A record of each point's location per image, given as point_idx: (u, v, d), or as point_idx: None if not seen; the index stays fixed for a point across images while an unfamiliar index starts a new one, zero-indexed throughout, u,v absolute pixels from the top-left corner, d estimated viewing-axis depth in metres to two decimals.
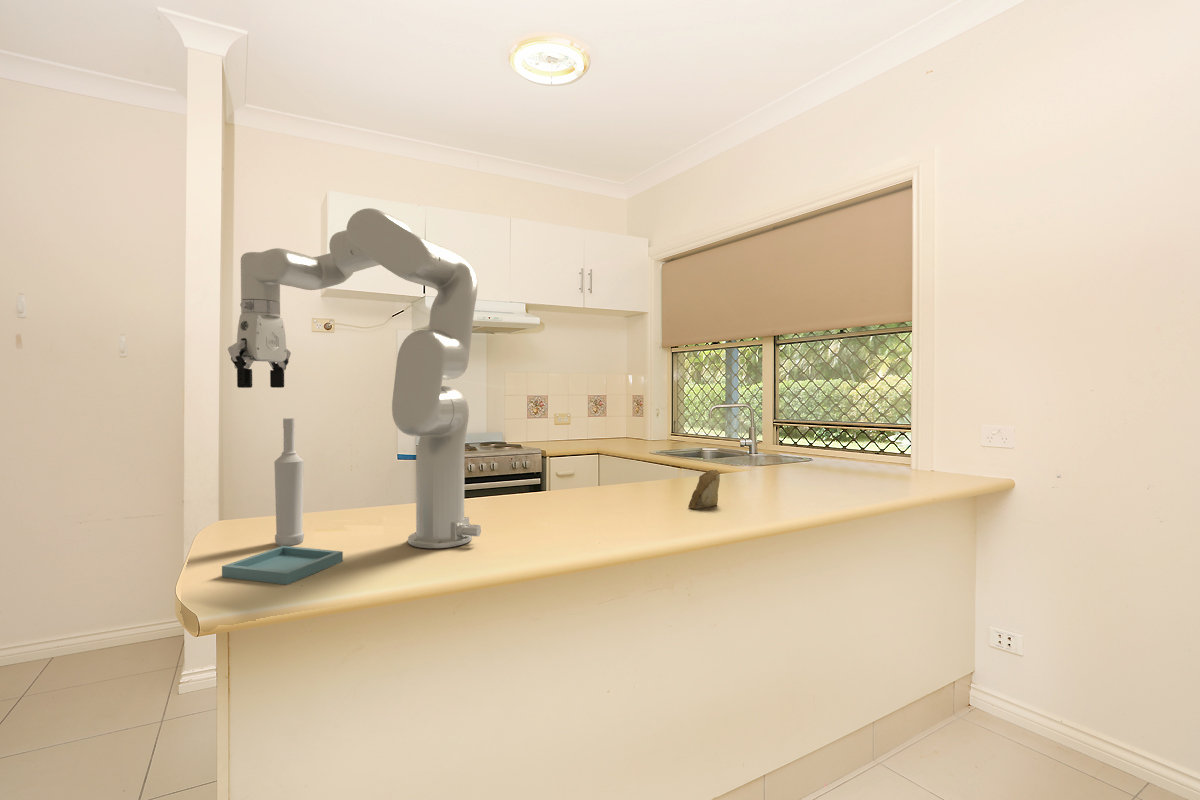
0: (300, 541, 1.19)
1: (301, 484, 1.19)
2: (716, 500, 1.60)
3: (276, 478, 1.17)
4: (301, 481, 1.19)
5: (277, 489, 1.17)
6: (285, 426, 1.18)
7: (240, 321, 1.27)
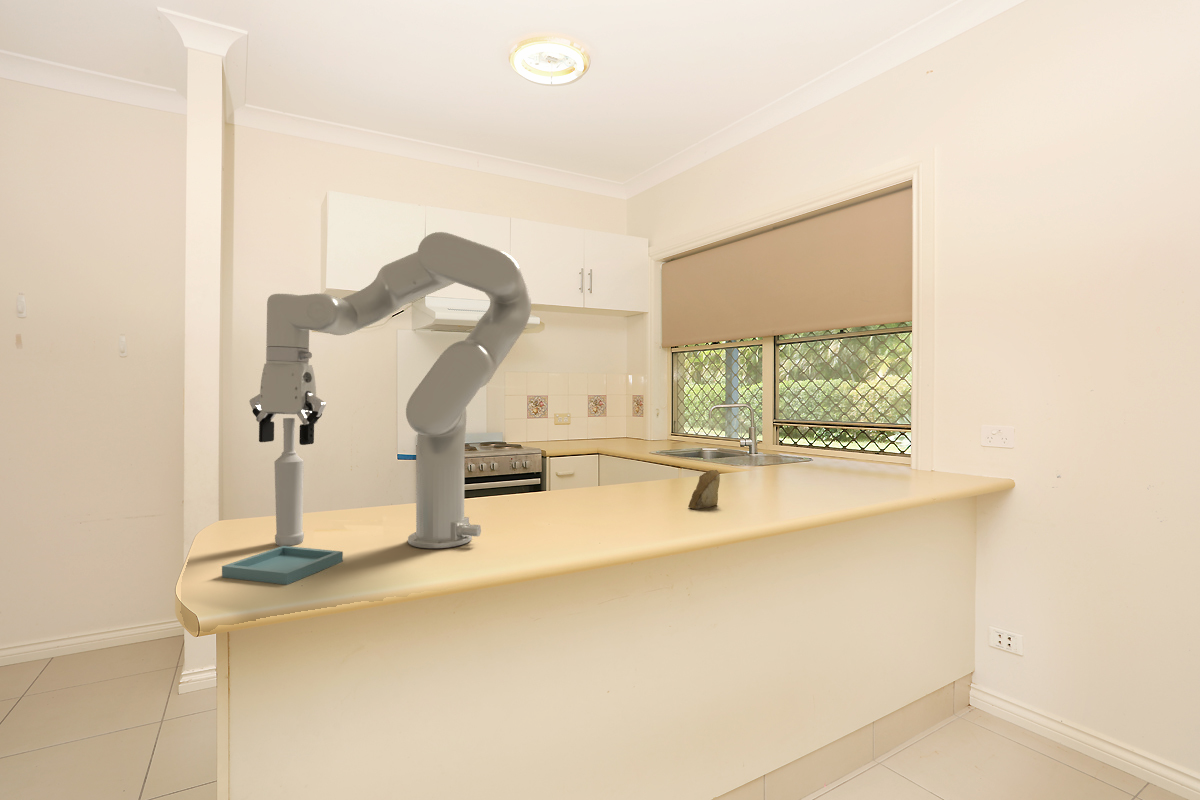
0: (300, 541, 1.19)
1: (301, 484, 1.19)
2: (716, 500, 1.60)
3: (276, 478, 1.17)
4: (301, 481, 1.19)
5: (277, 489, 1.17)
6: (285, 426, 1.18)
7: (301, 372, 1.16)
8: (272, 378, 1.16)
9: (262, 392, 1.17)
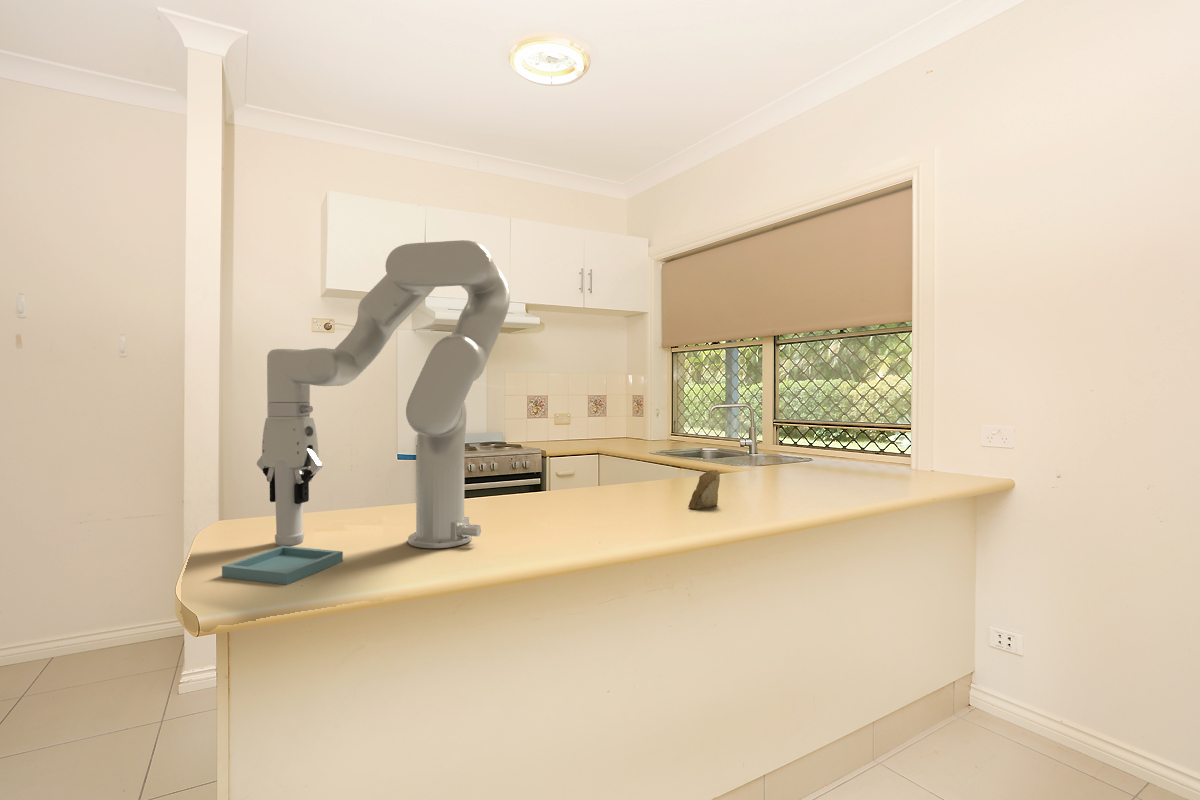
0: (300, 541, 1.19)
1: None
2: (716, 500, 1.60)
3: (276, 478, 1.17)
4: None
5: (277, 489, 1.17)
6: None
7: (303, 426, 1.16)
8: (273, 433, 1.17)
9: (264, 446, 1.18)
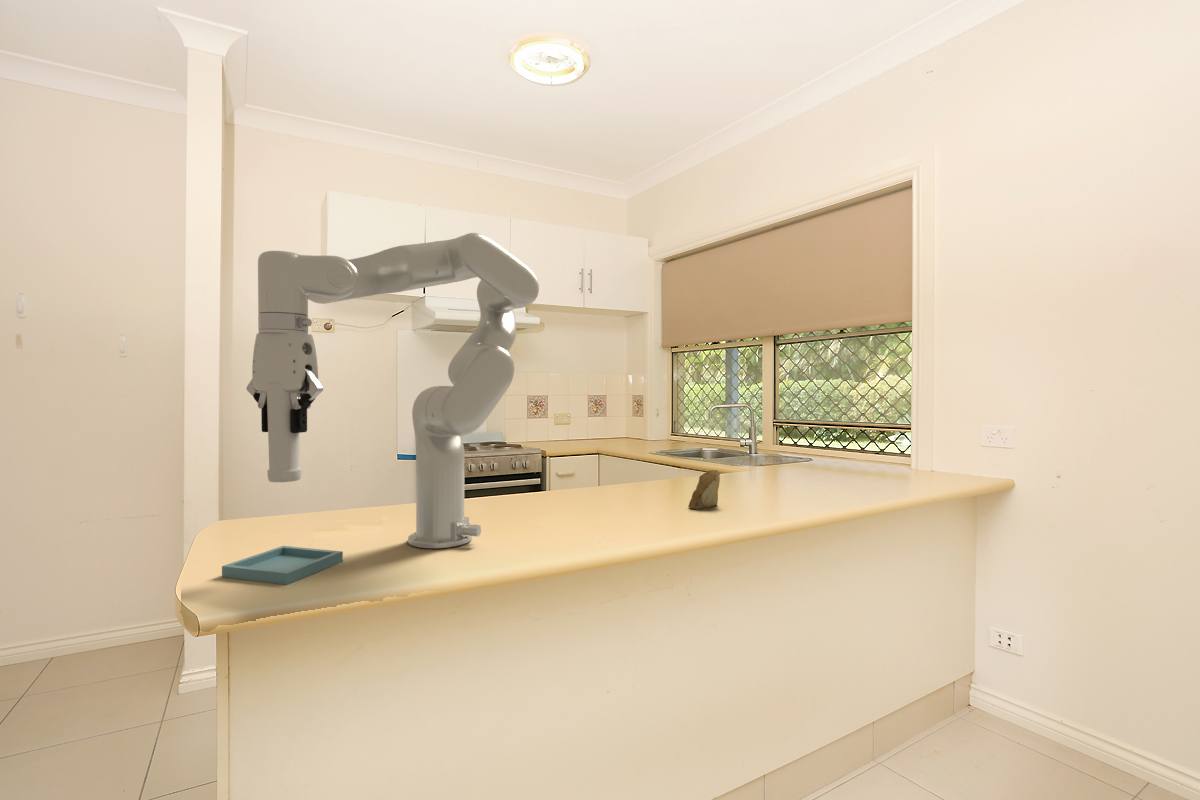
0: (297, 478, 1.02)
1: None
2: (716, 500, 1.60)
3: (269, 403, 1.00)
4: None
5: (270, 416, 1.00)
6: None
7: (300, 342, 0.99)
8: (265, 350, 1.00)
9: (255, 367, 1.01)
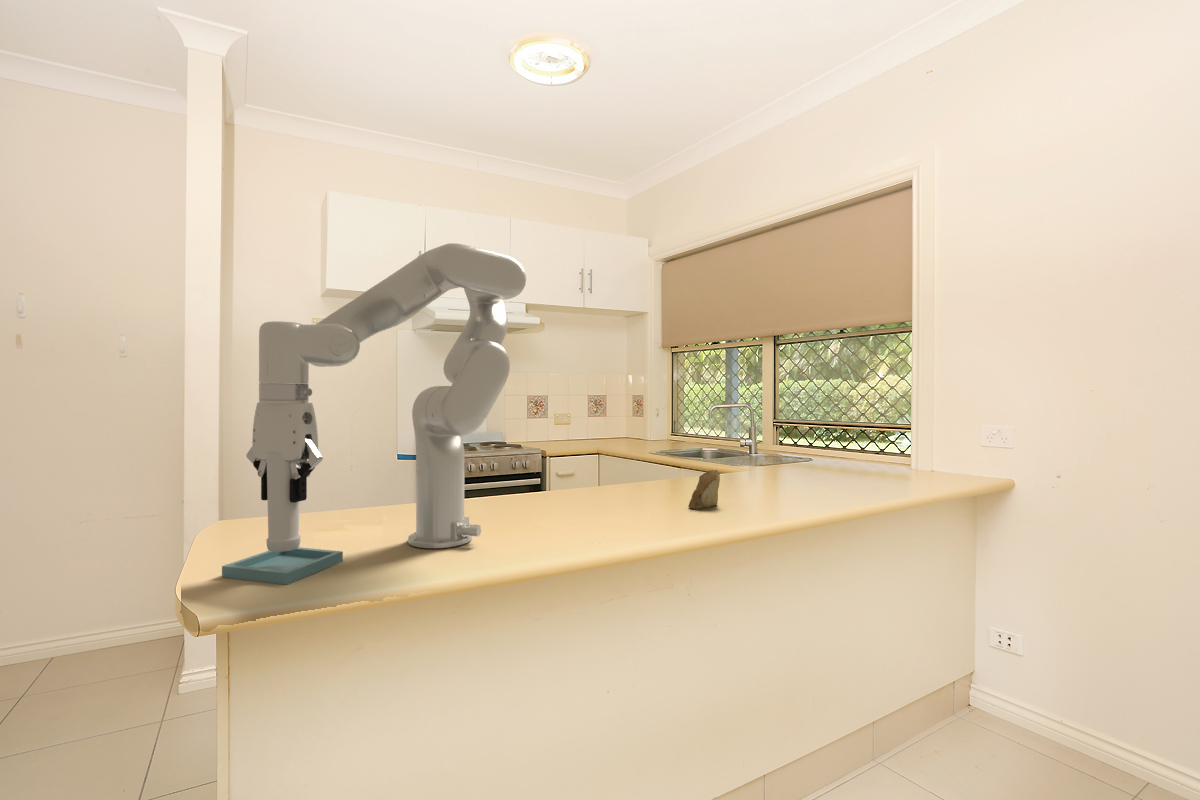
0: (296, 546, 1.02)
1: None
2: (716, 500, 1.60)
3: (268, 472, 1.00)
4: None
5: (269, 485, 1.00)
6: None
7: (300, 412, 1.00)
8: (266, 420, 1.00)
9: (255, 436, 1.01)
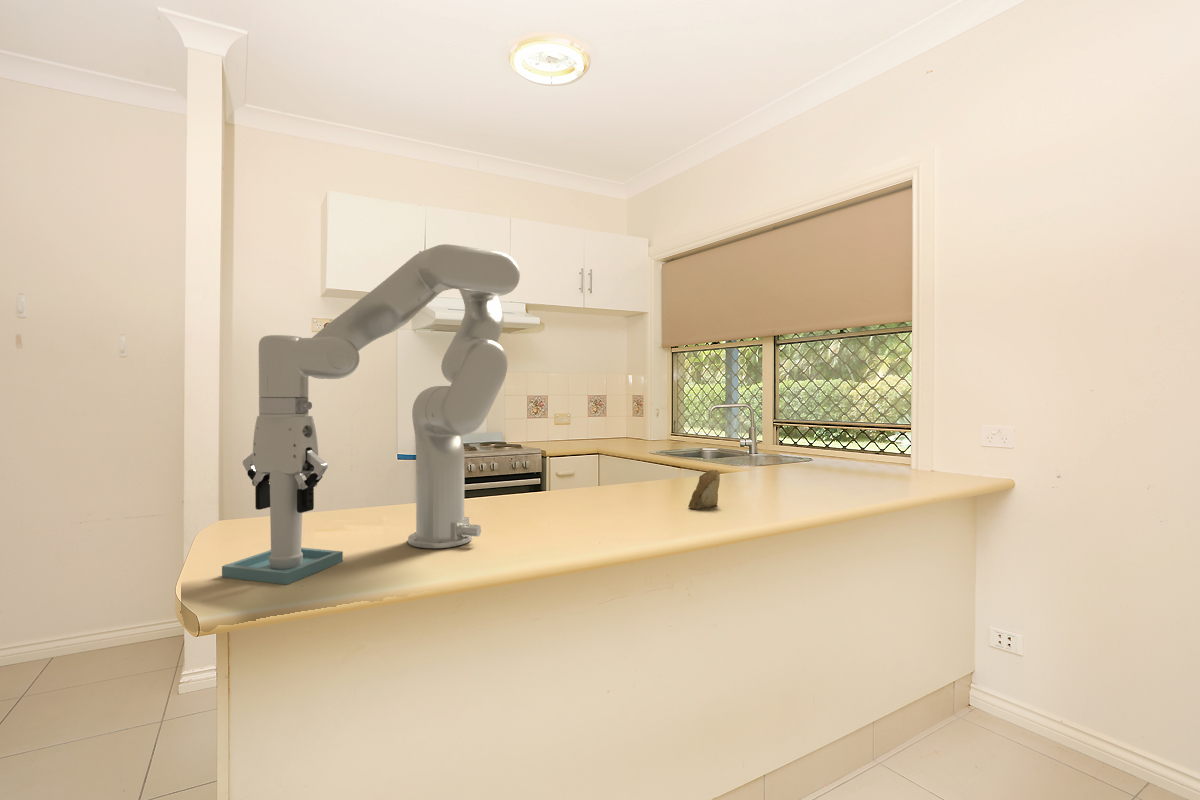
0: (298, 563, 1.02)
1: None
2: (716, 500, 1.60)
3: (271, 490, 1.01)
4: None
5: (272, 503, 1.00)
6: None
7: (300, 426, 1.00)
8: (266, 434, 1.00)
9: (256, 449, 1.01)
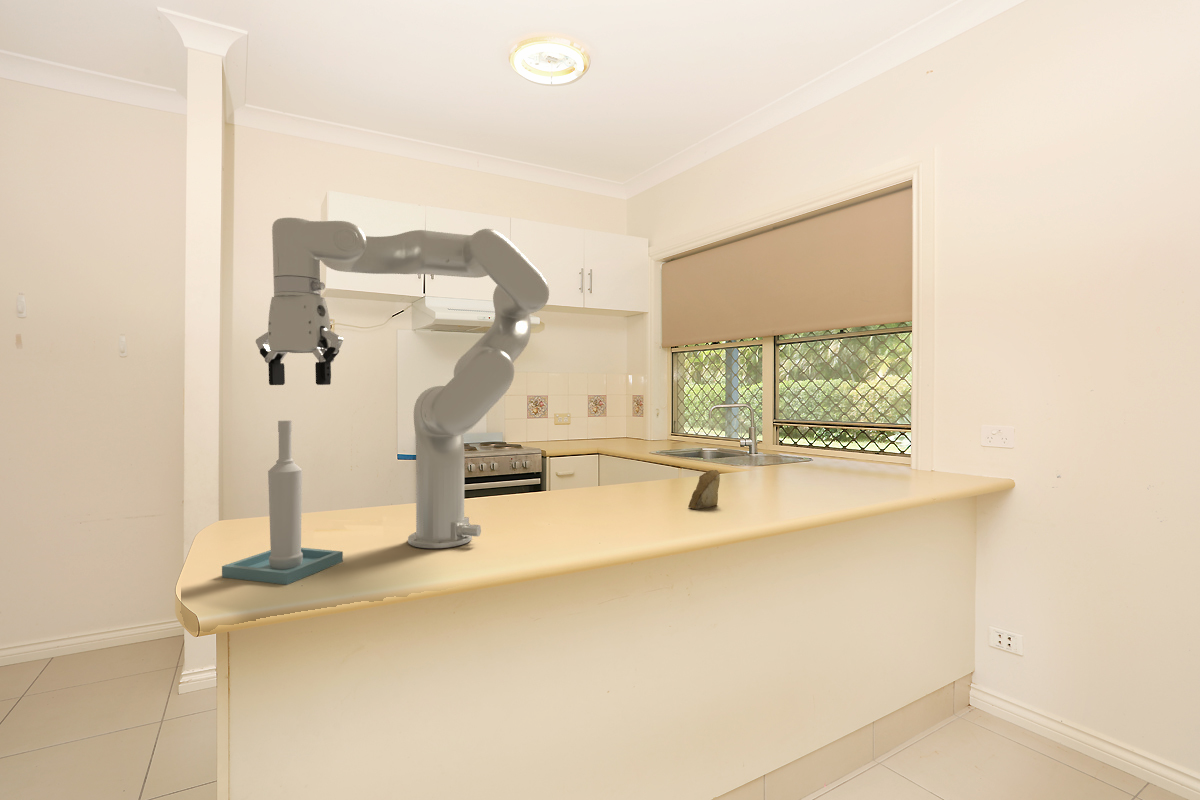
0: (298, 563, 1.02)
1: (299, 497, 1.02)
2: (716, 500, 1.60)
3: (270, 490, 1.00)
4: (299, 494, 1.02)
5: (271, 503, 1.00)
6: (280, 429, 1.01)
7: (314, 304, 1.05)
8: (281, 312, 1.05)
9: (271, 328, 1.06)
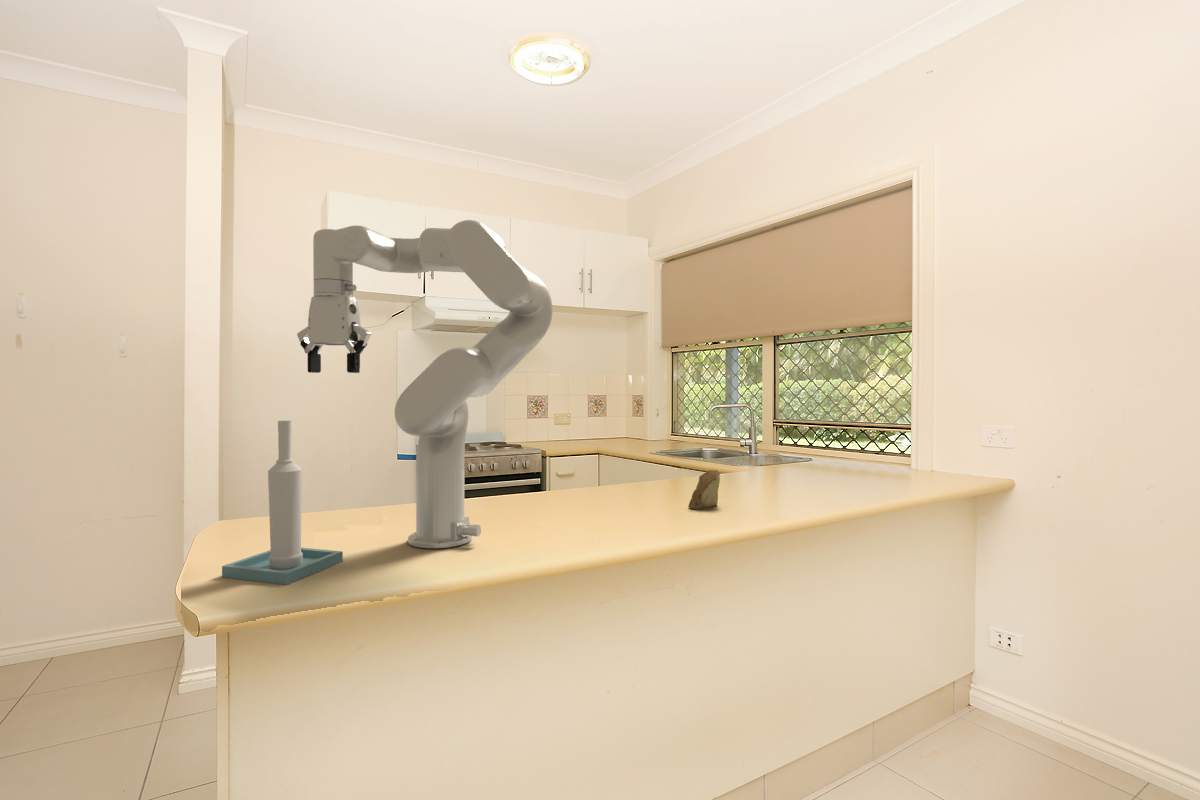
0: (298, 563, 1.02)
1: (299, 497, 1.02)
2: (716, 500, 1.60)
3: (270, 490, 1.00)
4: (299, 493, 1.02)
5: (271, 503, 1.00)
6: (280, 429, 1.01)
7: (347, 303, 1.22)
8: (319, 310, 1.23)
9: (310, 324, 1.24)
